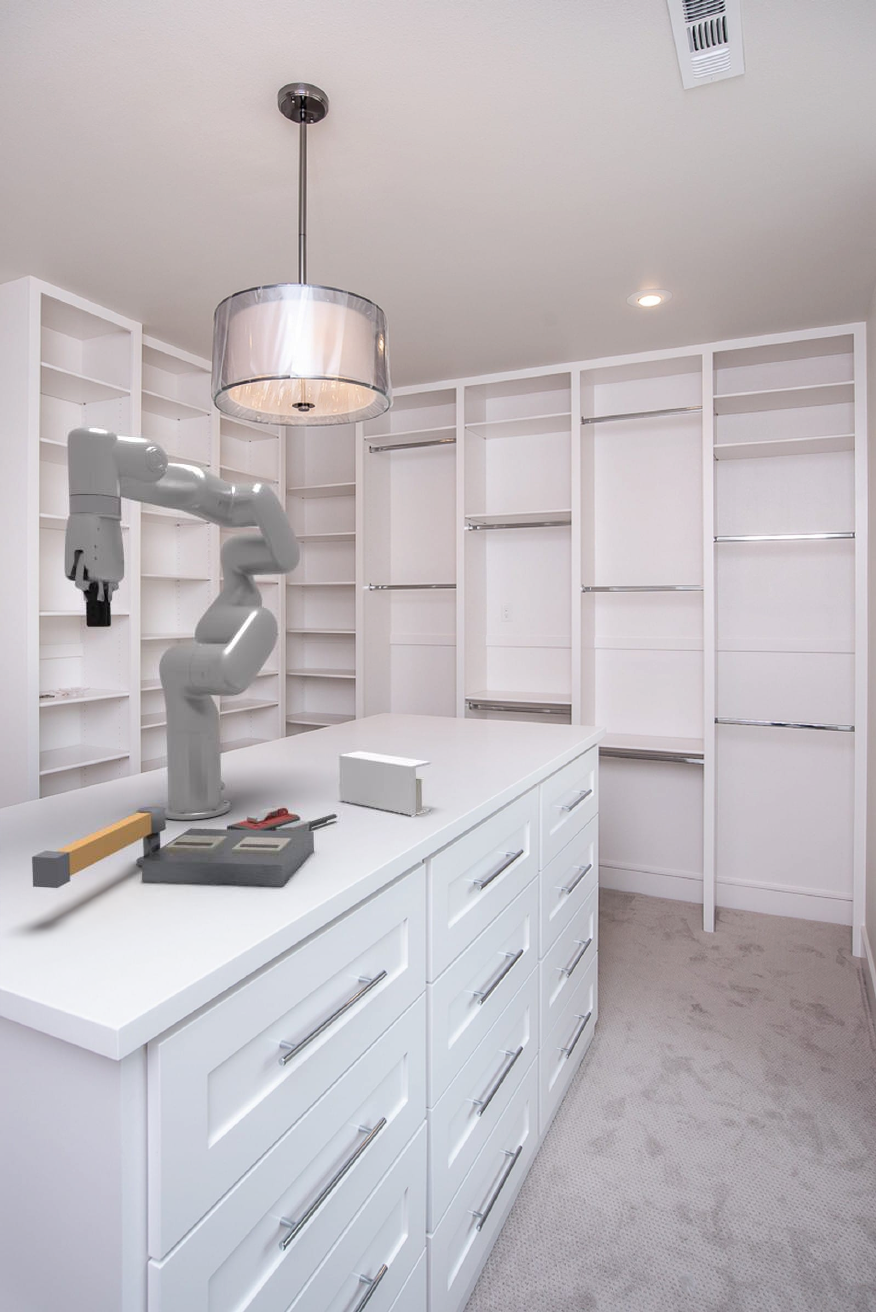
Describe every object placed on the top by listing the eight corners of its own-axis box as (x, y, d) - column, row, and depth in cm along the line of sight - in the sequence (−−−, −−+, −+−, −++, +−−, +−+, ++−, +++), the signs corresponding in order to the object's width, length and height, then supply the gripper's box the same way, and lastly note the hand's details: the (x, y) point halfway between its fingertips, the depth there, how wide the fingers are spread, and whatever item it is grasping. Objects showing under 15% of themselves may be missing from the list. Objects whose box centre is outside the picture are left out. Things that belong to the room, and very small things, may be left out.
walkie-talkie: (255, 853, 121) (340, 824, 137) (255, 826, 121) (340, 800, 137) (218, 844, 126) (304, 817, 142) (217, 817, 125) (304, 793, 142)
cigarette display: (431, 811, 145) (431, 761, 144) (412, 817, 141) (411, 766, 140) (355, 796, 157) (354, 750, 157) (335, 801, 153) (334, 754, 152)
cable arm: (146, 827, 117) (145, 803, 117) (170, 828, 117) (170, 804, 116) (30, 886, 92) (29, 856, 92) (60, 888, 91) (59, 858, 91)
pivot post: (145, 857, 118) (144, 828, 117) (173, 858, 117) (172, 829, 117) (130, 867, 113) (130, 836, 113) (159, 867, 113) (158, 837, 113)
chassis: (191, 847, 123) (190, 825, 123) (313, 850, 121) (313, 828, 120) (142, 881, 107) (141, 856, 107) (282, 886, 105) (281, 861, 105)
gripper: (98, 516, 129) (101, 626, 130) (44, 503, 114) (48, 627, 115) (141, 515, 128) (144, 626, 129) (92, 502, 114) (95, 627, 115)
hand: (98, 626), depth 122 cm, fingers closed
